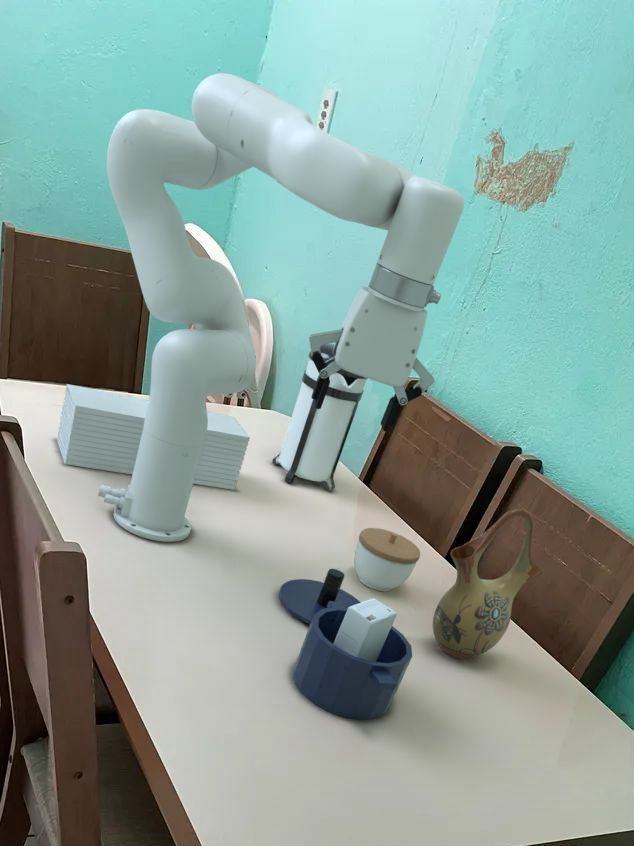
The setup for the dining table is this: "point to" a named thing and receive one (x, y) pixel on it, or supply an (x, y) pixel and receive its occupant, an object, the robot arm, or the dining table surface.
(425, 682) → the dining table surface
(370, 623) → the cosmetic box
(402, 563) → the trinket box
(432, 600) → the dining table surface
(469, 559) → the ceramic vessel
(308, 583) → the lid
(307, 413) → the coffee press
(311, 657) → the pot
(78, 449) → the white ridged box
